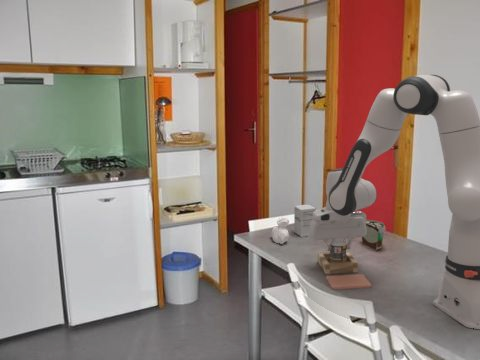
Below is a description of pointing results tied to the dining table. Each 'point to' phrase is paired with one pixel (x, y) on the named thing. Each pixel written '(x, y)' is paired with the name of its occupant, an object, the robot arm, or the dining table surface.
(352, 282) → the mat
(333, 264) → the block
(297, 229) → the supplement box
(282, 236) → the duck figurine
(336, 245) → the pill bottle
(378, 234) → the food container
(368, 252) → the dining table surface
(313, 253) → the dining table surface
